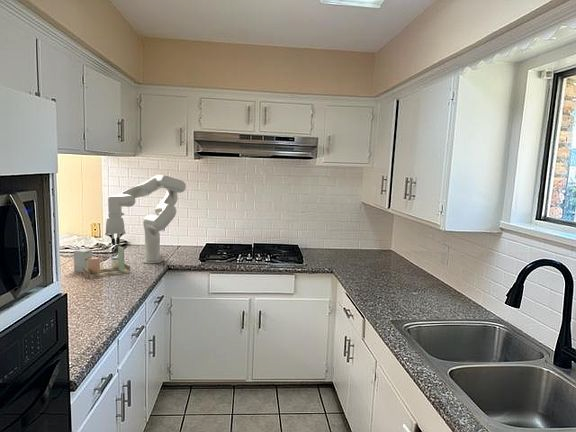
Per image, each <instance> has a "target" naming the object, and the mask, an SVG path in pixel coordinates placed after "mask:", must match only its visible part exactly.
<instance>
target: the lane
mask: <svg viewBox="0 0 576 432" xmlns="http://www.w3.org/2000/svg"><path fill="white" fill-rule="evenodd" d="M124 266H125V268H126V269H127V270H122V271H120V270H118V267H114V268H111V267H107V268H100V274H93V275H90V271H89V270H88V269H87V268H85V267H83V272H82V275H83V276H84V277H86V279H93V278H101V277H108V276H114V275H122V274H129V273H131V265H129V264H128V263H126V261H124Z"/></svg>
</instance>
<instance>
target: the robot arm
mask: <svg viewBox="0 0 576 432" xmlns="http://www.w3.org/2000/svg"><path fill="white" fill-rule="evenodd" d="M161 189H165V191H166V193H165V195H164V197H163V198H162V200H161V201H160V202H159V203H158V205H157V206H156V207H155V209H154V213H155V214H148V215H147V216H146V215H145V217H144V219H143V229H144V255H145V256H144V259H142V263H143V264H158V263H159V264H160V263H162V262H163V258H164V259H165V258H168V256H167V254H161V249H160V248H161V236H160V235H161V234H160V232H161V231H164V230H165V229H166V228H167V227H168V225H170V223H171V222H172V221H173V220H174V218H175V217H176V215H177V208H176V206H175V205H176V204H177V202H178V199H179V198H178V196H179V195H178V194H181V193H183V192H185V191H186V189H187V185H186V183H185V181H183V180H181V179H178V178H175V177H172V176H168V175H162V174H158V175H155V176H153V177H151V178H150V179H148V180H146V181H144V182H142V183H141V184H137V185H136V186H133V187H130V188H127V189H126V190H124V191H122V192H121V193H118V194H117V195H116V194H115V195H113V194H112V195H109V196H108V198H107V201H108V202H107V203H108V204H107V206H108V208H107V209H108V217H106V221H105V223H106V224H105V234H104V235H105V236H107V237H109V238H111V245H113V246H115V245H118V246H120V243H121V237H123V235H126V234H127V233H126V230H125V221H124V217H123V216H125V213H124V212H123V211H122V207H127V208H129V207H133V206H134V205H135V204H136V199H137V198H142V197H147V196H150V195H152V194H153V193H154V192H157V191H158V190H161ZM115 235H116V239H115Z"/></svg>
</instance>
